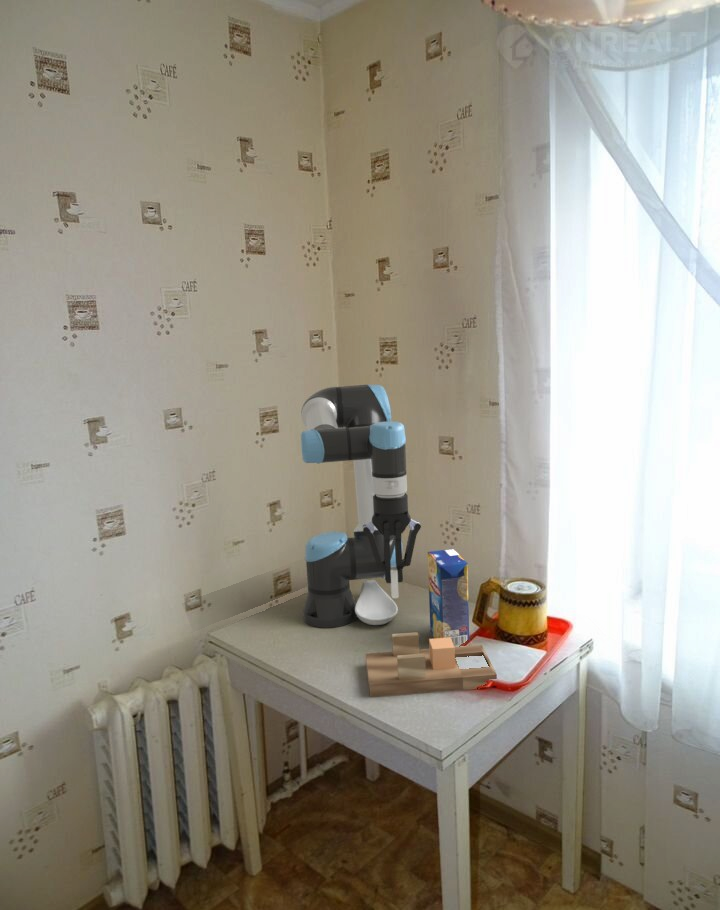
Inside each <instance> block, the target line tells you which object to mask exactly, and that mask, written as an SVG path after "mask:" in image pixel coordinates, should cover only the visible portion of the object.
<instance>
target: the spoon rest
mask: <svg viewBox="0 0 720 910" xmlns="http://www.w3.org/2000/svg"><path fill="white" fill-rule="evenodd" d="M360 586H361V587H360V591H359V592H360V593H359V594H360V595H359V596H358V597H357V601H356V602H355V603H356V605H355V613H356V615H357V617H356V618H358V619H359V620H360V621H361V622H363V623H364V624H367V625H370V626H381V625H385V624H387V623H389V622H391V621H392V620H393V619H395V617H396V616H397V614H398V611H399V610H398V609H399V608H398V605H397V603H396V602H395V601H394V600H393V598H392V597H391V596H390V595H389V594H388V593H387V592H386V591H385V590H384V589H383V588H382V587H381V586H380V585H379V584H378V582H377V581H376V580H375V579H371V580H367V579H363V580H362V583H361V585H360Z"/></svg>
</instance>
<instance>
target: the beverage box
mask: <svg viewBox="0 0 720 910" xmlns="http://www.w3.org/2000/svg"><path fill="white" fill-rule="evenodd" d="M427 567H428V568H427V569H428V571H427V572H428V595H429V596H428V598H429V599H428V600H429V602H428V605H429V625H430V626H429V629H430V630H429V632H430V634H431V635H432V636H433V639H435V638H448V637H451V640H452V642H453V644H454V647H459V646H460V645H461V644H463V643H465V642H466V641H467V640H469V641H470V617H469V616H470V615H469V614H470V613H469V612H470V611H469V609H470V608H469V572H468V571H469V569H468V562H467V561H466V560H465V559H464V558H463V557H462V556H461V554H459V553H458V552H457V551H456V550H455V549H454V548H449V549H442V550H432V551H427Z"/></svg>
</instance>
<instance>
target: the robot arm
mask: <svg viewBox="0 0 720 910" xmlns="http://www.w3.org/2000/svg"><path fill="white" fill-rule="evenodd" d="M300 412H301V420H302V422H303V424H304V426H305V427H306V430H303V431H302V432H301V434H300V443H301V445H300V446H301V457H302V461H303V462H304V463H306V464H325V463H335V462H336V463H337V462H348V461H353V472H354V483H355V498H356V508H357V509H356V510H357V522H358V523H357V525H356V527H355V528H354V530H353V536H352V537H348V536H347V533H345V532H343V531H328V532H323V533H321V534H318V535H315V536H313V537H312V538H310V539H309V540H307V542H306V544H305V556H304V560H305V563H306V564H305V566H306V580H307V583H306V584H307V594H306V599H305V603H304V607H303V621H304V622H305V623H306V624H307V625H309V626H311V627H312V626H313V627H317V628H323V629H324V628H326V629H327V628H329V629H330V628H331V629H332V628H337V627H338V628H339V627H342V626H346V625H348V624H350V623H353V621H355V620H356V619H357V618H358V617H357V615H356V613H355V605H356V603H357V602H356V600H355V598H354V596H353V592H352V590H351V587H350V581H354V580H355V581H357V580H367V579H378V578H382V579H384V580H385V582H386V584H389V586H390V587H389V589H390V595H391V596H390V597H391V599H399V583H403V580H404V576H403V569H404V568H405V567H409V566H411V562H412V558H413V553H414V548H415V545H416V540H417V539H416V538H417V535H418V533H419V531H420V530H421V528H422V525H421V523H420V521H418V520H414V519H412V518H411V515H410V514H409V513H410V512H409V500H408V494H407V491H408V480H407V478H408V477H407V475H408V474H407V455H406V454H407V452H406V442H407V437H406V431H405V426H404V424H403V423H401V422H399V421H392V413H391V406H390V401H389V396H388V394H387V392H386V389H385V388H384V387H383V386H382V385H380V384H360V385H347V386H346V385H345V386H330V387H326V388H323V389H320V390H319V391H316V392H315V393H313V394H312V395H309V397H308V398H307V399H306V400H305V402H304V404H303V405H302V408H301V411H300ZM408 525H409V526H408ZM407 527H408V529H409V533H408V538H407V541H406V542H407V543H406V548H405V552H404V555H403V542H402V541H403V538H402V534H403V533H404V531H405V530H406V528H407Z"/></svg>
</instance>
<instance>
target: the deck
mask: <svg viewBox="0 0 720 910" xmlns="http://www.w3.org/2000/svg"><path fill="white" fill-rule="evenodd" d="M391 637H392V639H391V641H392V651H383V652H373V653H365V667H366V674H367V675H366V676H367V682H368V689H369V696H370V698H377V697H391V696H401V695H412V694H427V693H438V692H440V693H441V692H450V691H451V692H452V691H463V690H465V691H466V690H474V689H475V690H477V687H478V686H481V685H482V686H483V685H485V684H487V682H486V681H487V680H489V679H497V680H498V677H497V675H498V674H497V672H496V669H495V668H494V667H493V665H492V662H491V660H490V659H489V656H488V654H487V653H486V651H485V649H484V647H483V644H477V645H476V644H475V645H469V646H460V647H455V658H456V657H467V656H468V657H469V656H482V655H483V656H484V658H485V660H486V662H487V664H488V666H489V667H481V668H469V669H459V666H458V664H457V661H456V659H455V668H450V669H437V670H433V667H432V664H431V661H430V650H429V648H423V649H420V645H419V644H420V643H419V642H420V641H419V633H418V631H416V632H403V633H402V632H400V633H392V634H391Z"/></svg>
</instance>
